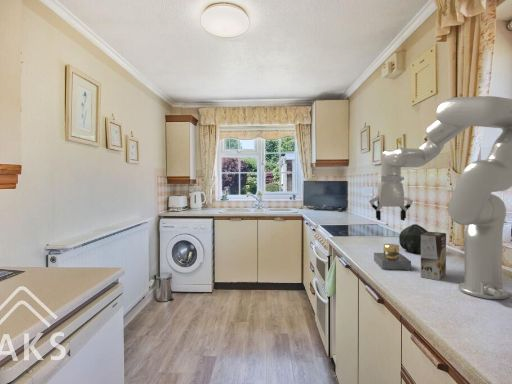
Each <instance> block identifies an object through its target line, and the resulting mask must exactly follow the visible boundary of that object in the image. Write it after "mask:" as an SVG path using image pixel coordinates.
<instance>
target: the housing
mask: <svg viewBox="0 0 512 384" xmlns="http://www.w3.org/2000/svg"><path fill="white" fill-rule="evenodd" d="M373 261H374V262H375V263H376V265H378V267H379V268H380V269H381V270H386V271H387V270H393V271H395V270H398V271H412V261H411V260H410V259H408V258H407V257H406V256H405V255H403V254H402V253H400V252H399V255H397V258H386V254H384V252H373Z"/></svg>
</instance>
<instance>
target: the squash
mask: <svg viewBox="0 0 512 384" xmlns="http://www.w3.org/2000/svg"><path fill="white" fill-rule="evenodd" d="M426 232H429V231H428V230H427V229H426V228H425V227H422V226H421V225H419V224H416V223H414V224H411V225H410V226H407V227H406V228H404V229H403V230H401V232H400V233H399V237H398V239H399V241H398V242H399V246H400V247H401V249H404V250H405V251H408V252H410V253H412V254H414V253H416V254H421V234H423V233H426Z"/></svg>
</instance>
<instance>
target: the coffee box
mask: <svg viewBox="0 0 512 384" xmlns="http://www.w3.org/2000/svg"><path fill="white" fill-rule="evenodd" d="M446 275H447V233H445V232H439V231H438V232H437V231H428V232H426V233H423V234H421V252H420V277H421V278H425V279H430V280H435V281H440V280H441V279H443V278H444V277H445V276H446Z"/></svg>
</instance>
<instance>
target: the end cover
mask: <svg viewBox="0 0 512 384" xmlns="http://www.w3.org/2000/svg"><path fill="white" fill-rule="evenodd" d="M383 253H384V254H386V258H397V255H399V253H400V244H397V243H396V244H395V243H384V244H383Z"/></svg>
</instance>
